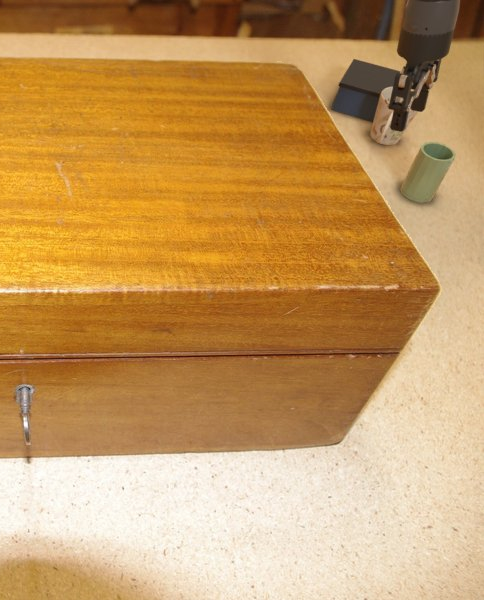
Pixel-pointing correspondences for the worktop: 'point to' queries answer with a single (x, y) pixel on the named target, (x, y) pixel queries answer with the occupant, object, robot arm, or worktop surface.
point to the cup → (427, 171)
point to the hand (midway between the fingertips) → (407, 119)
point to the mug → (387, 120)
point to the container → (362, 89)
